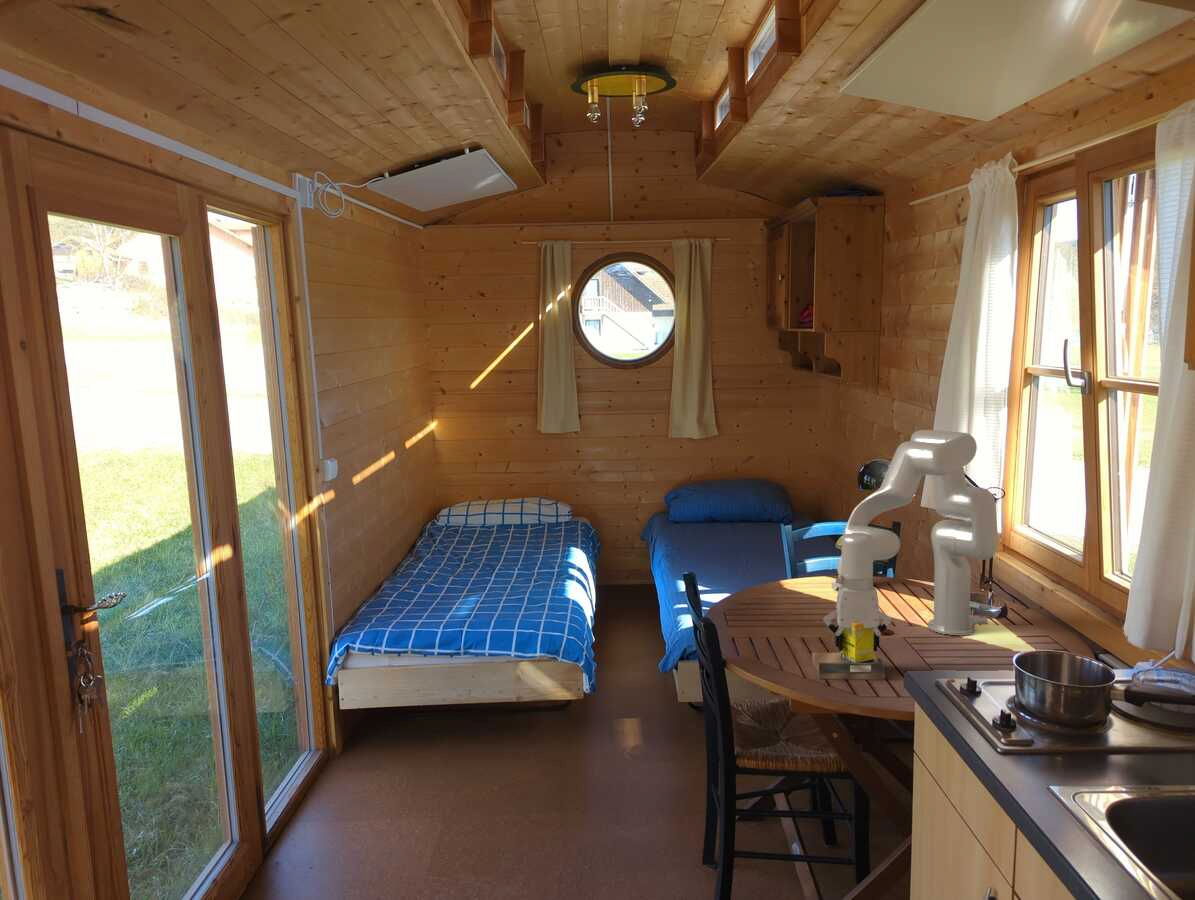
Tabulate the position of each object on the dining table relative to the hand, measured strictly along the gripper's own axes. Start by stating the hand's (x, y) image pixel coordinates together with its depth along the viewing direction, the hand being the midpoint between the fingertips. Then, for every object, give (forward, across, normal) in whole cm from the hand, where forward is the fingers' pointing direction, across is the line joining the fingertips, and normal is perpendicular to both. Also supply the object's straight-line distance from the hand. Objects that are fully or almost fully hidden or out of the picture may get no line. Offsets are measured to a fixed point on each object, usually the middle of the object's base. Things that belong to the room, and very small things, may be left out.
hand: (857, 648), depth 220 cm
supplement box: (+3, 0, 0) cm, 3 cm away
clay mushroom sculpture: (+6, +11, +72) cm, 73 cm away
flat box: (+6, -2, +2) cm, 7 cm away
